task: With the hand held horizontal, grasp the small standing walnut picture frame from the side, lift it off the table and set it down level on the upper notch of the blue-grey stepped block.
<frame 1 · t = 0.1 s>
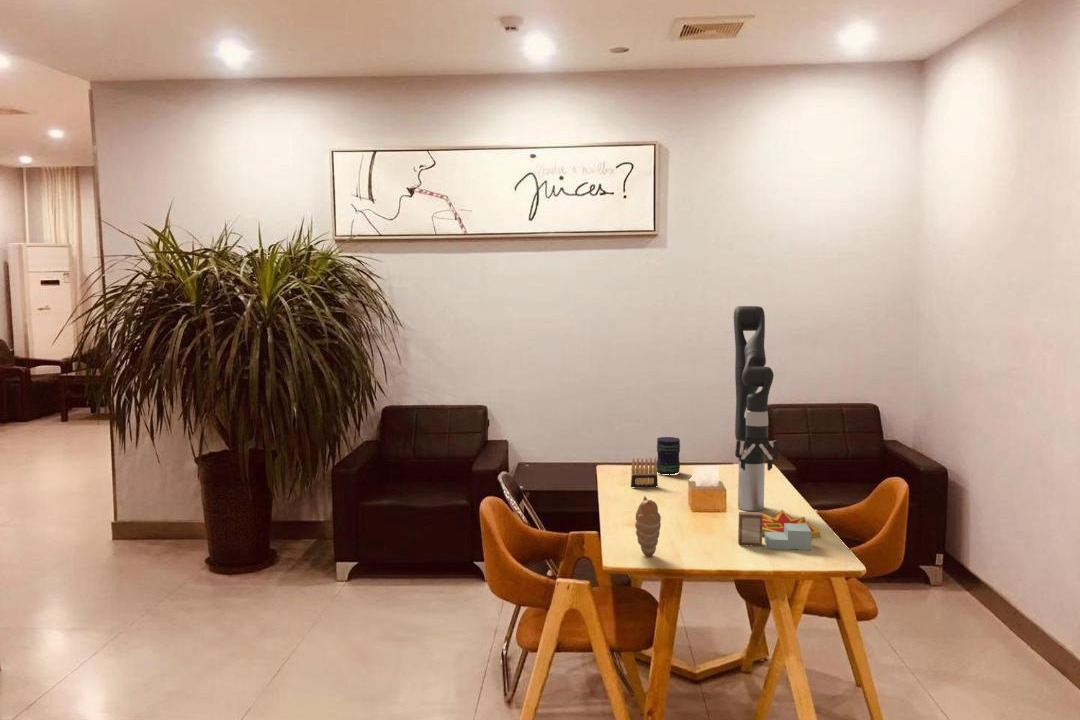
hand: (756, 470, 299), 17 cm above the table, tool pointing down, fingers open, 8 cm apart
frame: (749, 544, 272), on the table
ammunition clip: (644, 487, 345), on the table
wall decoration: (782, 528, 291), on the table
storage jar: (668, 473, 369), on the table
brown ribbed tall piece: (648, 556, 261), on the table
blue-grey stepped block: (785, 545, 270), on the table
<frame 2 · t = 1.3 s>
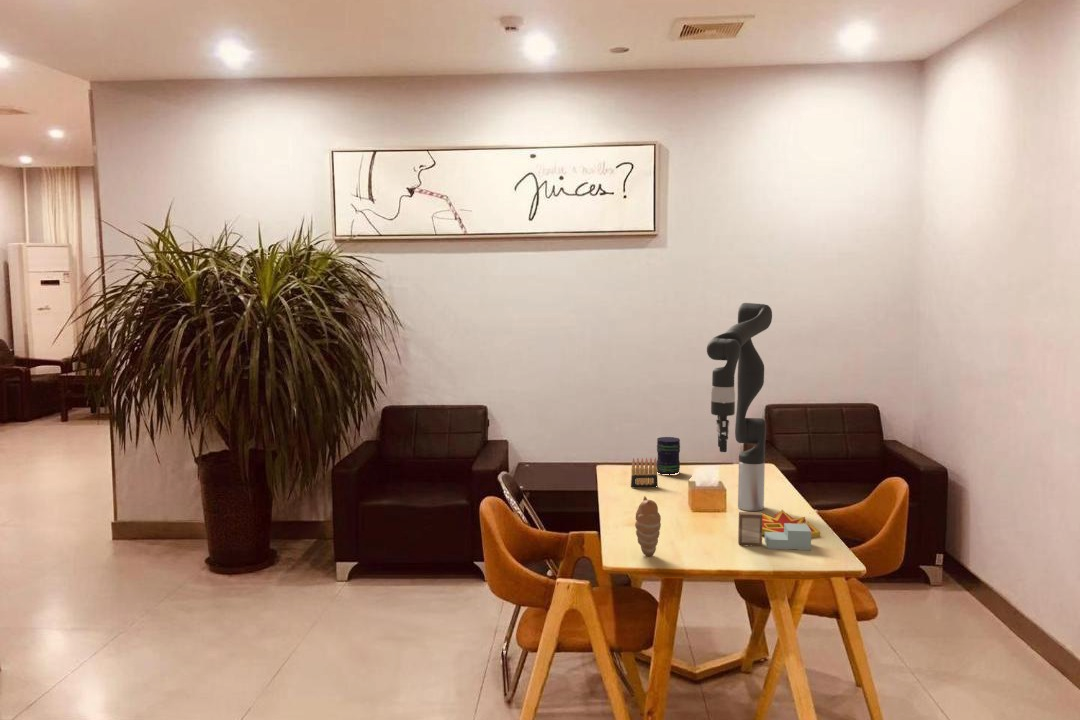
hand: (722, 449, 279), 28 cm above the table, tool pointing down, fingers open, 8 cm apart
nothing on the table moved.
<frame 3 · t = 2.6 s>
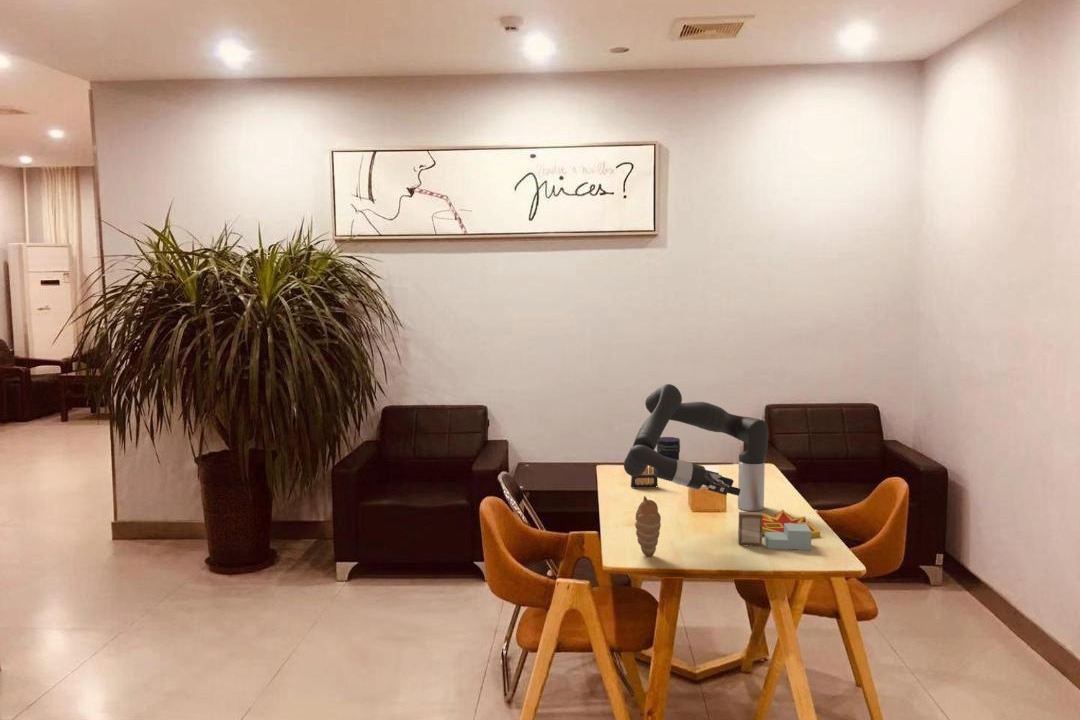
hand: (736, 487, 270), 18 cm above the table, tool tilted 75°, fingers open, 8 cm apart
nothing on the table moved.
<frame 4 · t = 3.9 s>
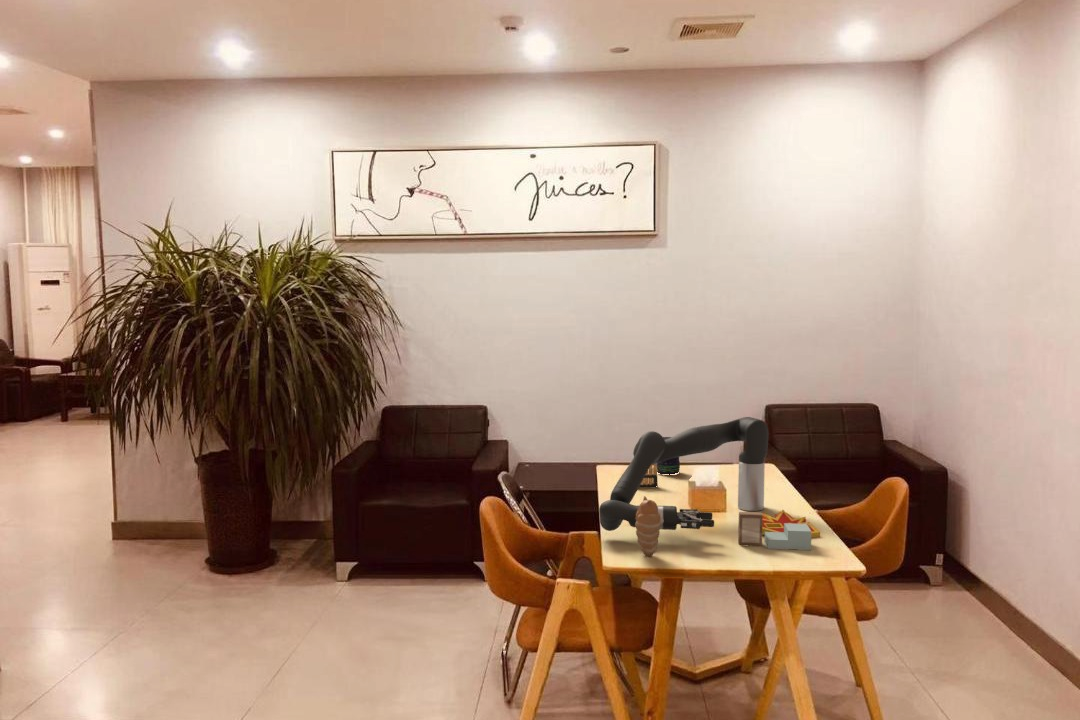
hand: (713, 519, 272), 8 cm above the table, tool horizontal, fingers open, 8 cm apart
nothing on the table moved.
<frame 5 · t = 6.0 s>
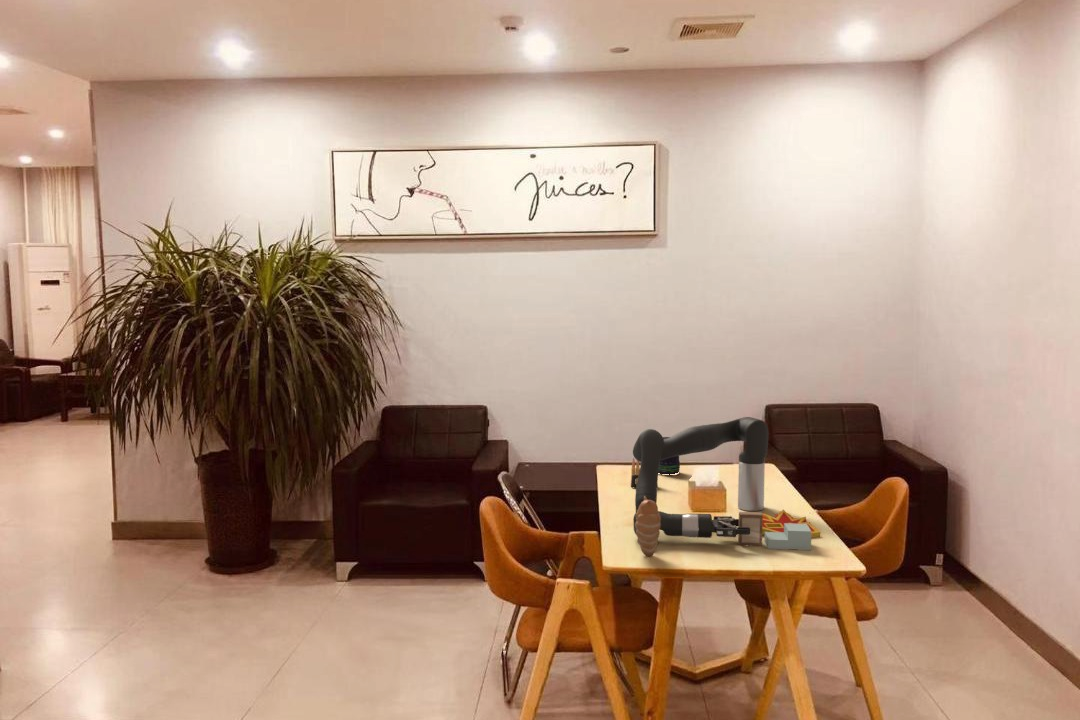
hand: (748, 526, 271), 6 cm above the table, tool horizontal, fingers open, 8 cm apart
nothing on the table moved.
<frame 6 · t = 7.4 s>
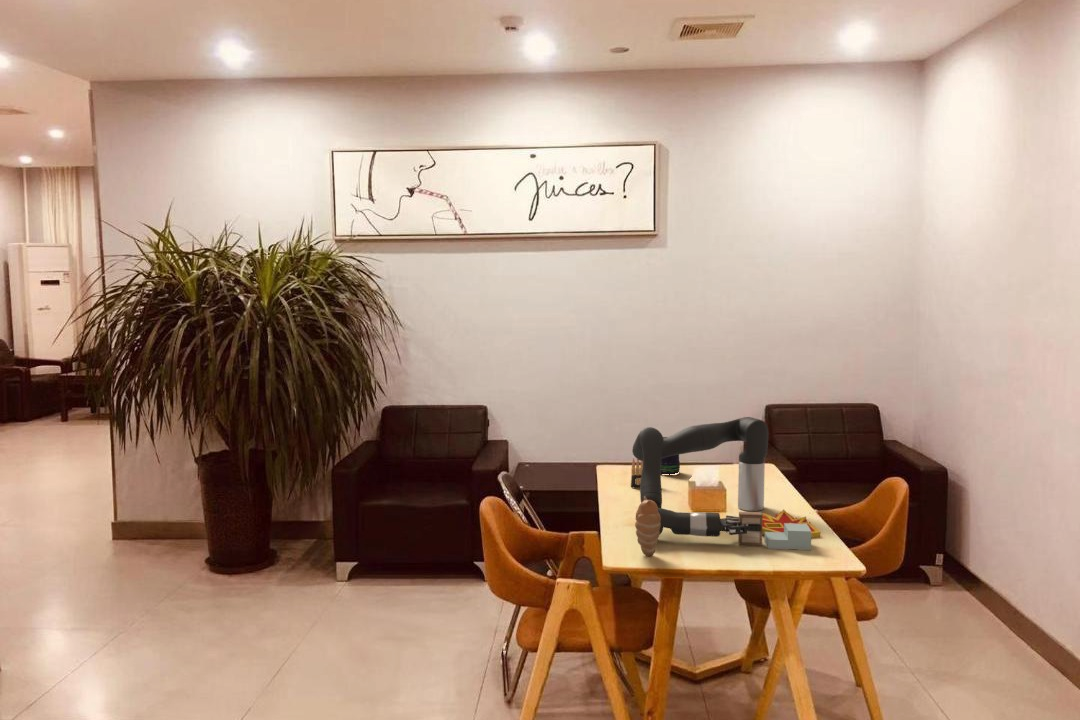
hand: (759, 526, 271), 6 cm above the table, tool horizontal, fingers closed on frame, 3 cm apart
frame: (750, 544, 272), on the table, touching gripper
everything else where it was.
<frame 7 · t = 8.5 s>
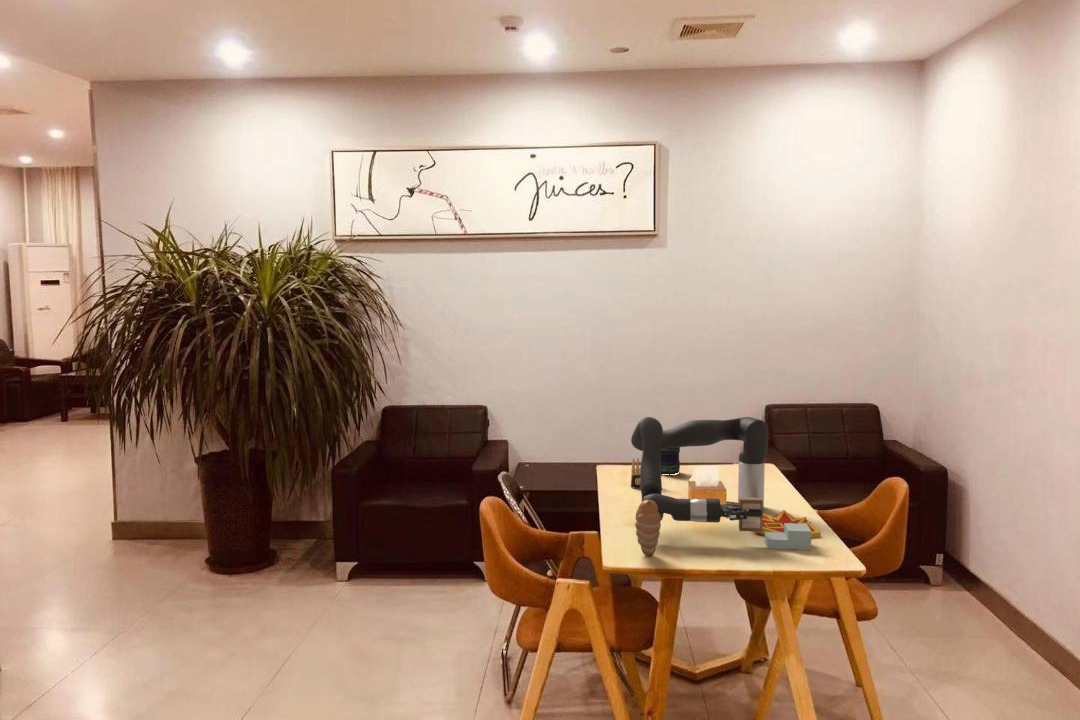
hand: (760, 511, 270), 11 cm above the table, tool horizontal, fingers closed on frame, 3 cm apart
frame: (750, 529, 271), point 5 cm above the table, touching gripper
everything else where it was.
when the fingers open (13 cm above the table, at t = 12.2 s): frame stays where it is, resting on blue-grey stepped block.
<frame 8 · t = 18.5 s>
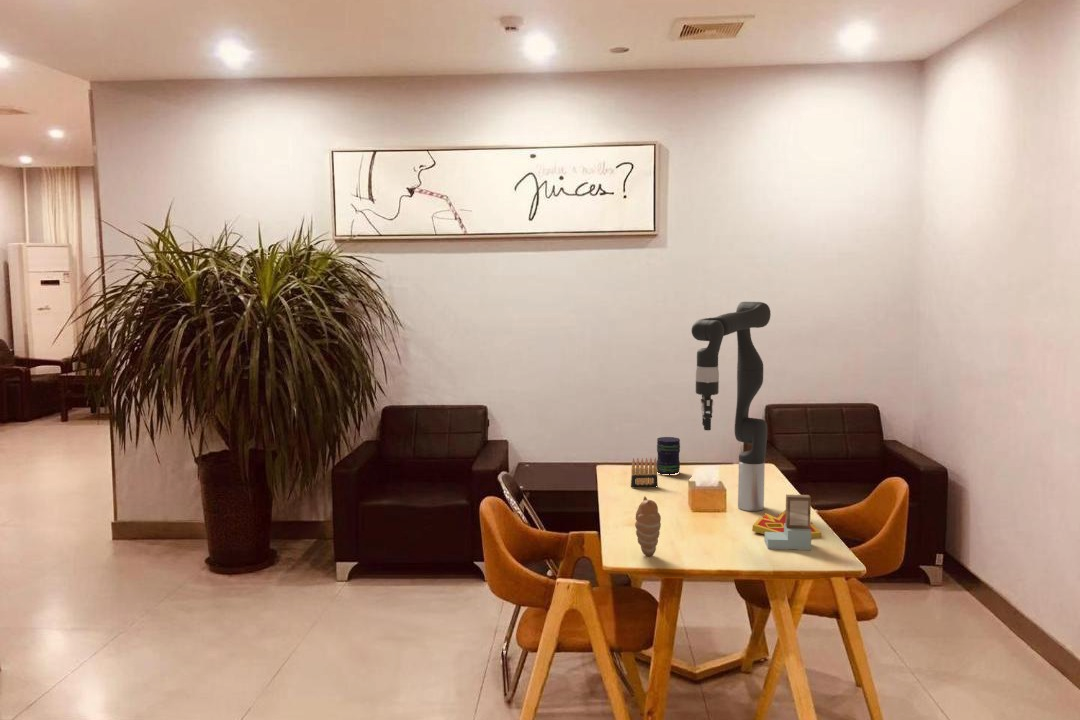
hand: (706, 427, 287), 34 cm above the table, tool pointing down, fingers open, 8 cm apart
frame: (797, 527, 269), point 6 cm above the table, touching blue-grey stepped block
everything else where it was.
at the end: frame inside the target area on the blue-grey stepped block (0.3 cm from its centre), point 6.0 cm above the blue-grey stepped block's base; frame tilted 0°; the gripper is holding nothing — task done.
